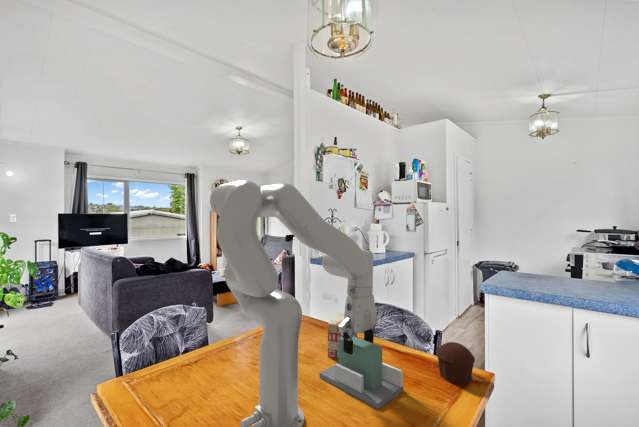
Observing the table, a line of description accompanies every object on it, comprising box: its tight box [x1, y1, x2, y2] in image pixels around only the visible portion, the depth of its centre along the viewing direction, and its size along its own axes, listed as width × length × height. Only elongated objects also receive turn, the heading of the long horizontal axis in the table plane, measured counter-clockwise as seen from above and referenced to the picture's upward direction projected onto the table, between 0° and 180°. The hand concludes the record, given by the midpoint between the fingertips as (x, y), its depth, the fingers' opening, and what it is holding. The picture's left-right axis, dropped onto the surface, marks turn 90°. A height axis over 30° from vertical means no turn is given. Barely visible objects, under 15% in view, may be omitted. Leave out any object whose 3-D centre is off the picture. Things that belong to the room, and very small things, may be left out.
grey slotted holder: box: [318, 361, 405, 410], centre depth 94 cm, size 12×22×6 cm, turn 44°
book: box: [338, 334, 383, 391], centre depth 94 cm, size 4×13×11 cm, turn 44°
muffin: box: [435, 341, 476, 385], centre depth 99 cm, size 12×11×10 cm
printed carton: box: [327, 312, 358, 360], centre depth 121 cm, size 21×6×12 cm, turn 161°
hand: (358, 348), depth 94 cm, fingers open, 9 cm apart
